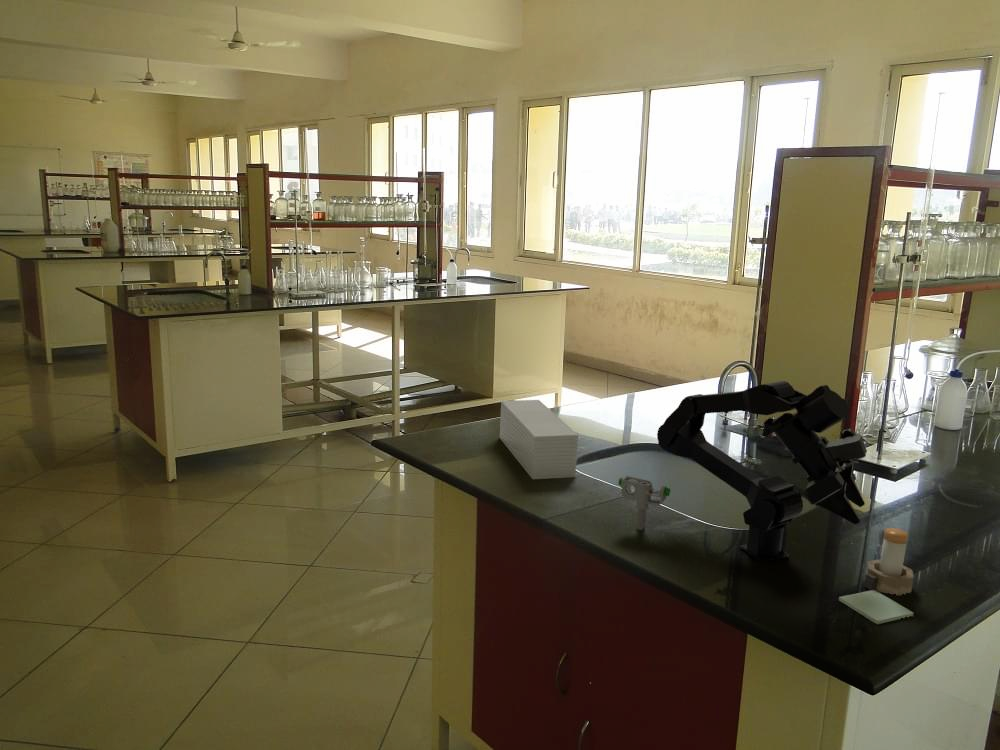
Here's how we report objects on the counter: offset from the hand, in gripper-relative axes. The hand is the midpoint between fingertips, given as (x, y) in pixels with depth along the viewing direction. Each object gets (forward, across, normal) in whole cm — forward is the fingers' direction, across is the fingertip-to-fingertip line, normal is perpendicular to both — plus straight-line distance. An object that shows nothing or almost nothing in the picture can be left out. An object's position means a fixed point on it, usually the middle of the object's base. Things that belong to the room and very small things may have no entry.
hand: (860, 514), depth 138 cm
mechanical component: (-19, -2, +37) cm, 41 cm away
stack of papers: (-45, +26, +64) cm, 82 cm away
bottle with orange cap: (+13, 0, +4) cm, 14 cm away
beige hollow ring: (+13, 0, +4) cm, 14 cm away
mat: (+12, -10, +5) cm, 16 cm away
